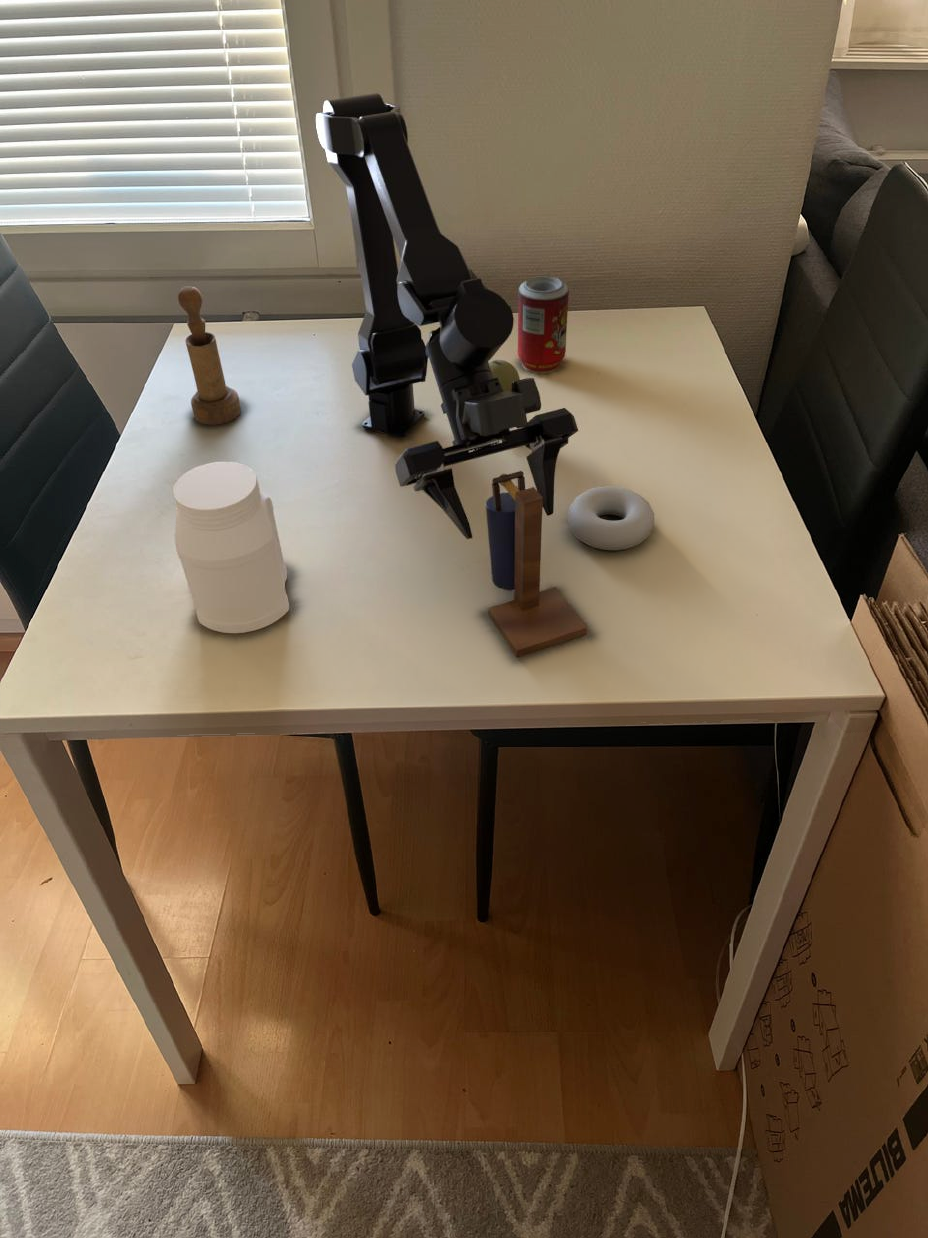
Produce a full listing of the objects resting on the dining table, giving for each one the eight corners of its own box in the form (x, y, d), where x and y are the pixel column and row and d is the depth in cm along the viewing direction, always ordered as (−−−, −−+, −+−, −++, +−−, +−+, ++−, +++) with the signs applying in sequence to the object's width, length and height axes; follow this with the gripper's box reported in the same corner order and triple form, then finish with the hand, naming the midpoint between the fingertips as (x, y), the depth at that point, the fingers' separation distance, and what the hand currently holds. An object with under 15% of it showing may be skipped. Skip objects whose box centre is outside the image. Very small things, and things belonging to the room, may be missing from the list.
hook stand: (469, 585, 102) (465, 471, 91) (534, 565, 104) (537, 451, 93) (516, 657, 93) (518, 541, 83) (586, 634, 95) (596, 518, 85)
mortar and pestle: (230, 426, 127) (200, 301, 114) (186, 423, 128) (152, 297, 115) (248, 402, 131) (221, 278, 119) (205, 398, 132) (174, 275, 120)
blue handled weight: (486, 575, 101) (475, 469, 94) (522, 564, 102) (514, 458, 95) (502, 594, 97) (493, 485, 90) (540, 583, 99) (533, 474, 91)
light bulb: (471, 437, 123) (469, 368, 116) (486, 416, 127) (485, 348, 120) (511, 444, 121) (511, 375, 114) (525, 423, 125) (526, 355, 118)
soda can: (559, 377, 134) (563, 296, 125) (512, 372, 135) (512, 291, 127) (569, 355, 138) (573, 274, 130) (523, 350, 140) (524, 270, 132)
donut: (643, 564, 103) (660, 511, 110) (647, 540, 101) (663, 487, 108) (557, 547, 106) (578, 496, 113) (558, 524, 103) (579, 473, 110)
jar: (290, 626, 98) (265, 513, 87) (198, 640, 97) (162, 526, 86) (286, 558, 106) (262, 447, 95) (201, 569, 105) (168, 458, 94)
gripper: (395, 377, 85) (445, 538, 85) (574, 334, 90) (622, 487, 90) (375, 411, 96) (420, 555, 96) (536, 372, 101) (579, 508, 101)
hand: (510, 526), depth 95 cm, fingers open, 9 cm apart
